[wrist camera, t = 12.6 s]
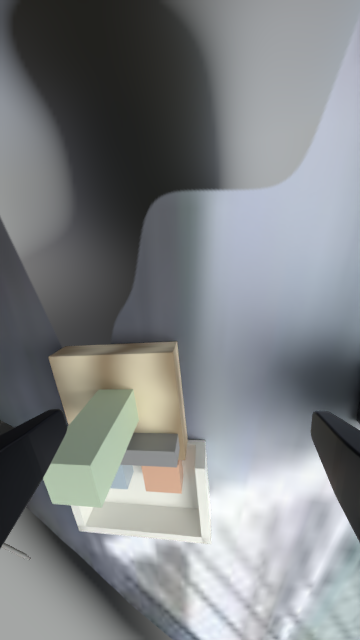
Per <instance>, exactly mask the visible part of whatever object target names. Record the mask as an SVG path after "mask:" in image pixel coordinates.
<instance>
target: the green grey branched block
mask: <svg viewBox="0 0 360 640" xmlns="http://www.w3.org/2000/svg"><path fill="white" fill-rule="evenodd" d="M138 421H139V418H138V412H137V407H136V401H135V396H134V390H133V389H100V390H98V391H97V392H96V393H95V394H94V396H93V397H92V398H91V399H90V400H89V402H88V403H87V404H86V405H85V407H84V408H83V409H82V410H81V411H80V413H79V414H78V415H77V416H76V417H75V419H74V420H73V421H72V422H71V423H70V425H69V426H68V427H67V432H66V435H65V437H64V439H63V441H62V443H61V445H60V446H59V448H58V450H57V452H56V454H55V456H54V458H53V460H52V462H51V464H50V466H49V468H48V470H47V472H46V474H45V476H44V477H43V479H44V482H45V485H46V487H47V490H48V493H49V496H50V498H51V501H52V504H61V505H74V506H86V507H98V508H102V506H103V504H104V502H105V499H106V497H107V494H108V492H109V490H110V487H111V485H112V483H113V480H114V478H115V476H116V473H117V471H118V468H119V466H120V465H135V466H156V467H177V464H178V457H179V450H180V446H179V438H178V434H169V433H134V431H135V428H136V426H137V423H138Z"/></svg>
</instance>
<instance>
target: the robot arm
mask: <svg viewBox="0 0 360 640" xmlns="http://www.w3.org/2000/svg"><path fill="white" fill-rule="evenodd" d="M358 410H359V411H358V417H357V421H358V423H359V424H360V403H359V409H358ZM66 432H67V424H66V420H65V417H64V414H63V411H62V410H60V409H51V410H48V411H46V412H44V413H42V414H40V415H38V416H36V417H35V418H33V419H31V420H29V421H27V422H25V423H23V424H21V425H19V426H17V427H15V428H13V429H11V430H9V431H7V432H6V433H4V434H2V435H0V548H1V547H2V545H3V543H4V542H5V540H6V538H7V537H8V535H9V533H10V532H11V530H12V529H13V527H14V525H15V524H16V522H17V520H18V519H19V517H20V515H21V514H22V512H23V510H24V509H25V507H26V506H27V504H28V502H29V501H30V499H31V497H32V496H33V494H34V492H35V491H36V489H37V488H38V486H39V484H40V483H41V481H42V479H43V477H44V476H45V474H46V472H47V470H48V468H49V466H50V464H51V462H52V460H53V458H54V456H55V454H56V452H57V450H58V448H59V446H60V445H61V443H62V441H63V439H64V437H65V435H66ZM311 437H312V440H313V442H314V445H315V447H316V450H317V452H318V455H319V457H320V459H321V462H322V464H323V467H324V469H325V472H326V474H327V476H328V479H329V481H330V484H331V486H332V488H333V491H334V493H335V495H336V497H337V499H338V501H339V503H340V505H341V507H342V509H343V511H344V513H345V515H346V517H347V519H348V521H349V523H350V525H351V526H352V528H353V530H354V532H355V534H356V536H357V538H358V540H359V542H360V430H358V429H357V428H355V427H353V426H352V425H350V424H348V423H347V422H345V421H344V420H342V419H340V418H339V417H337V416H335V415H334V414H332V413H330V412H328V411H314V412H313V414H312V424H311Z"/></svg>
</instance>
